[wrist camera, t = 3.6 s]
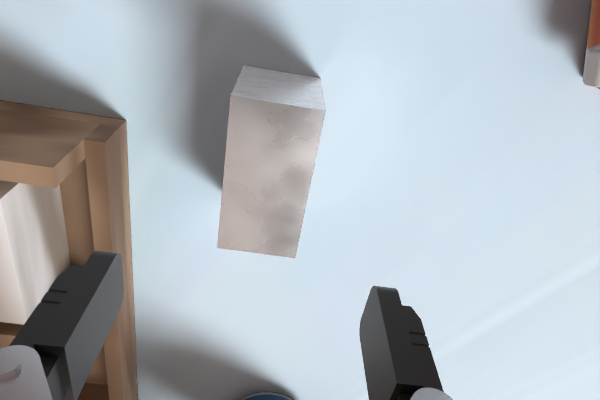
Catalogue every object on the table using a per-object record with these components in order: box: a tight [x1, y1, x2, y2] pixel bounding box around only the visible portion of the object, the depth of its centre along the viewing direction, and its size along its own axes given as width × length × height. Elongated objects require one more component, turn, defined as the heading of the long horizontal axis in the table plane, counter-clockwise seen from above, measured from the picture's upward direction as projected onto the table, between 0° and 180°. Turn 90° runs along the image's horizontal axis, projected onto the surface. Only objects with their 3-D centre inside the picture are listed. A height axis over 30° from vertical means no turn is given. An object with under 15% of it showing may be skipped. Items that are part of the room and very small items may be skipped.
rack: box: [0, 101, 138, 400], centre depth 29 cm, size 11×34×6 cm, turn 170°
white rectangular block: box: [217, 65, 326, 258], centre depth 22 cm, size 4×8×5 cm, turn 171°
